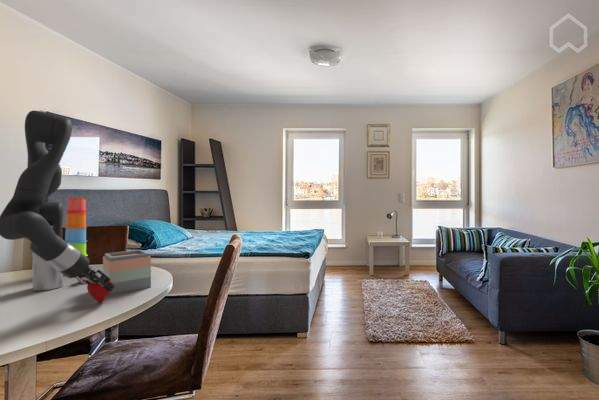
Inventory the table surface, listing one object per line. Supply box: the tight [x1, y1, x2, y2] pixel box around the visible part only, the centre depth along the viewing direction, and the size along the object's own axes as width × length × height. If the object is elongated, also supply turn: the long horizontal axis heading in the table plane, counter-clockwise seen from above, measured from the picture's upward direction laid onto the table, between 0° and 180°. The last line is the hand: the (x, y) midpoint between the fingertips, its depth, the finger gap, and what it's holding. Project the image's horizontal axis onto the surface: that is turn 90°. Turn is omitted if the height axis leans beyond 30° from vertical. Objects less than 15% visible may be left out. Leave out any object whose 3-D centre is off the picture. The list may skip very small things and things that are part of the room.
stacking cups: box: [64, 197, 89, 257], centre depth 147 cm, size 10×10×35 cm
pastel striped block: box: [102, 249, 152, 295], centre depth 122 cm, size 14×12×13 cm
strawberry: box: [86, 279, 113, 303], centre depth 105 cm, size 6×8×10 cm
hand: (104, 287), depth 107 cm, fingers closed on strawberry, 6 cm apart
